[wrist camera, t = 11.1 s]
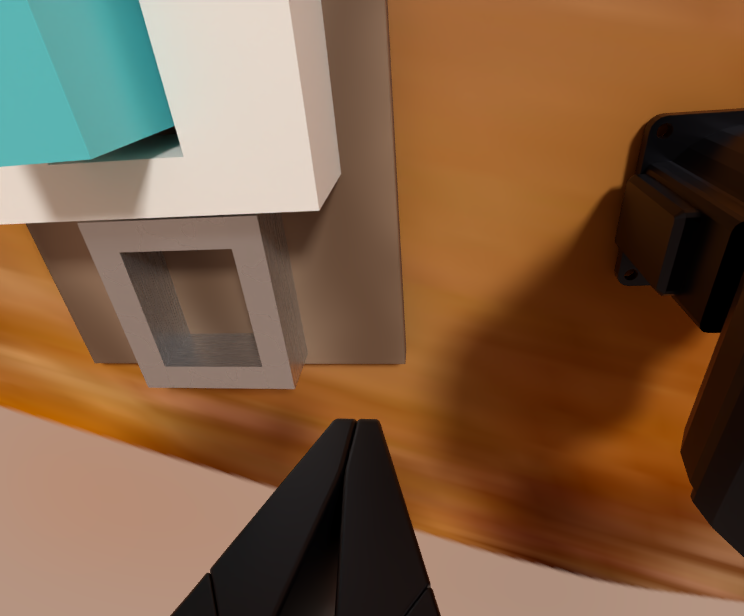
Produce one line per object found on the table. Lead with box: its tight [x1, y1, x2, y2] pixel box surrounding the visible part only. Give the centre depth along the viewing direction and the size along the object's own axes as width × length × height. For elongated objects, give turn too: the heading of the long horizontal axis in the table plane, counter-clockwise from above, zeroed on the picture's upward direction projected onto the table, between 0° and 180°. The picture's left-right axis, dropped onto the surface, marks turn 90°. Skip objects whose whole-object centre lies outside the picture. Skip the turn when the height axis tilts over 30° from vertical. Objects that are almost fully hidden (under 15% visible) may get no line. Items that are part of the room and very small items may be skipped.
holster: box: [77, 212, 308, 389], centre depth 19 cm, size 7×8×2 cm
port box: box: [0, 0, 341, 224], centre depth 14 cm, size 12×9×4 cm
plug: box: [0, 0, 175, 167], centre depth 13 cm, size 3×4×7 cm
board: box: [26, 0, 406, 364], centre depth 18 cm, size 16×18×1 cm
